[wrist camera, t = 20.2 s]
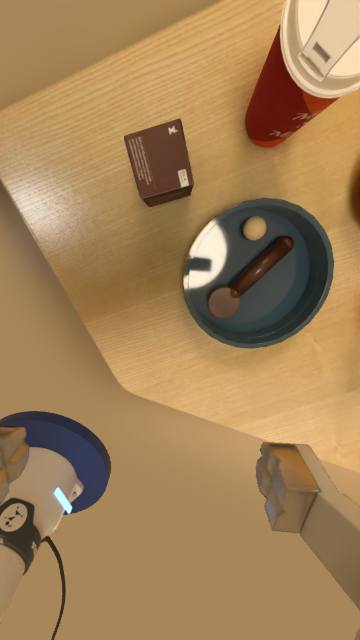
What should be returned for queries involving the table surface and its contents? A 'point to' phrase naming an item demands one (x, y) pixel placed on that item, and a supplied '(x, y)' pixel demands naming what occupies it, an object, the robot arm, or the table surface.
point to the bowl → (274, 287)
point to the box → (160, 163)
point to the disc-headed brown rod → (247, 279)
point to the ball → (254, 228)
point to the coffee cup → (305, 68)
